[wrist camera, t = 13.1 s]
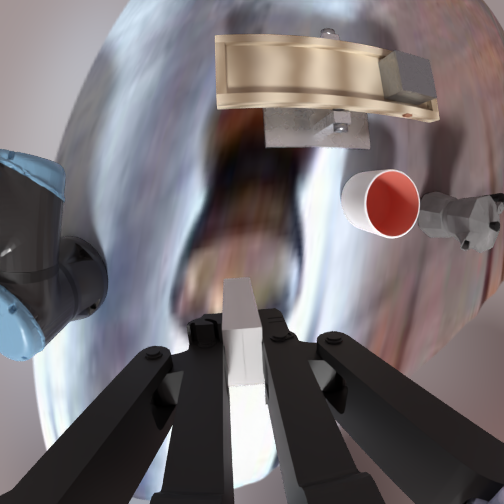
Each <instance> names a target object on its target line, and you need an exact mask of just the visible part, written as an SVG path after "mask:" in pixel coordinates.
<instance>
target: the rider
mask: <svg viewBox="0 0 504 504" xmlns="http://www.w3.org/2000/svg"><path fill="white" fill-rule="evenodd" d="M378 65H379V71H380V76H381V82H382V88H383V95H384V99H386V100H392V101H397V102H403V103H408V104H413V105H419V104H422V103H425V102H428V101H430V100H433V99H436V98H437V95H436V90H435V85H434V80H433V75H432V70H431V66H430V62H429V60H428V59H424V58H421V57H418V56H415V55H411V54H408V53H404V52H401V51H397V50H394V51H393V52H391V53H390V54H389V55H387V56H386V57H385V58H383V59H382V60H380V61H379V62H378Z"/></svg>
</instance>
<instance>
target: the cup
mask: <svg viewBox="0 0 504 504" xmlns="http://www.w3.org/2000/svg"><path fill="white" fill-rule="evenodd" d="M341 205H342V209H343V212H344V215H345V217H346V218H347V220H348V221H349V222H350V223H351V224H352V225H353V226H355V227H357V228H359V229H361V230H365V231H368V232H371V233H374V234H377V235H380V236H383V237H386V238H398V237H401V236H403V235H405V234H406V233H407V232H409V231H410V230H411V228H412V227H413V226H414V224H415V222H416V220H417V218H418V215H419V209H420V199H419V194H418V190H417V188H416V186H415V184H414V182H413V181H412V180H411V178H410V177H409V176H407V175H406V174H405V173H403V172H401V171H399V170H395V169H387V170H377V171H367V172H361V173H358V174H356V175H354V176H353V177H351V178H350V179H349V180H348V181H347V183H346V184H345V186H344V188H343V191H342V196H341Z"/></svg>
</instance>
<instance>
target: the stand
mask: <svg viewBox="0 0 504 504" xmlns="http://www.w3.org/2000/svg"><path fill="white" fill-rule="evenodd" d="M320 38H325V39H333V40H339V41H340V39H339V35H336V34H335V31H334V30H333V29H330V28H326V29H323V30H321V36H320ZM263 121H264V138H265V148H344V149H364V150H368V149H370V137H369V126H368V116H367V113H365V112H356V111H345V110H344V111H333V110H332V109H316V108H283V107H266V108H263Z"/></svg>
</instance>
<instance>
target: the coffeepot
mask: <svg viewBox="0 0 504 504" xmlns="http://www.w3.org/2000/svg"><path fill="white" fill-rule="evenodd" d="M495 202H496V203H495ZM503 210H504V194H503V193H498V194H492V195H485V196H479V197H470V198H463V199H456V198H454V197H452V196H449V195H446V194H443V193H440V192H438V191H437V192H432V193H428V194H425V195H424V196H423V198H422V199H421V201H420V209H419V215H418V218H417V219H418V224H419V228H420V229H421V230H422V231H423V232H424V233H425V234H427V235H428V236H429V237H454V238H455V239H456V240H457V241H459V242H460V243H461V246H460V247H461V249H462V250H465V251H467V250H469V249H474V250H475V251H477V252H479V253H482V252H484V251H486V250H488V249H491V248H492V247H493V245H494V243H495V240H496V238H497V236H498V233H499V231H500V219H499V214H501V213H502V211H503Z"/></svg>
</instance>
